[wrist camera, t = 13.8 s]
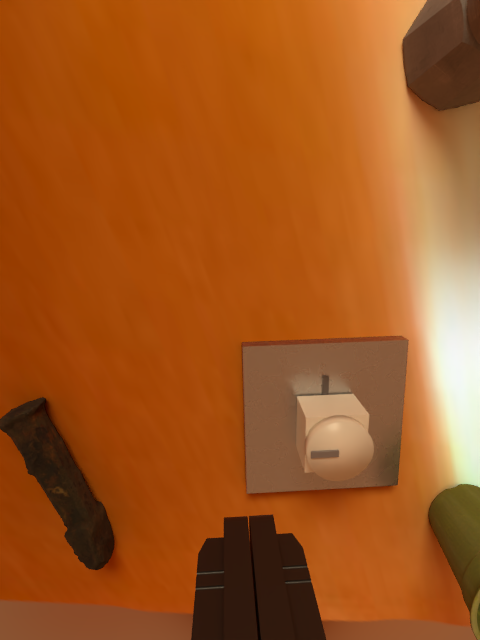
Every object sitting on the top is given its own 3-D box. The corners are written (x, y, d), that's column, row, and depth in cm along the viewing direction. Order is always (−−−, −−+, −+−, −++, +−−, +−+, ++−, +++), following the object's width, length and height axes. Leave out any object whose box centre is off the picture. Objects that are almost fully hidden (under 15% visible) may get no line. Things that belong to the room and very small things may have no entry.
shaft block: (391, 476, 40) (414, 509, 35) (246, 484, 39) (249, 518, 34) (400, 335, 36) (428, 350, 31) (241, 342, 36) (244, 358, 31)
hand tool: (12, 404, 36) (-19, 428, 32) (48, 391, 36) (23, 413, 32) (92, 550, 40) (75, 589, 36) (125, 539, 40) (112, 577, 36)
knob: (354, 392, 35) (377, 422, 30) (351, 444, 37) (372, 480, 32) (295, 395, 35) (308, 425, 30) (295, 447, 37) (307, 484, 31)
